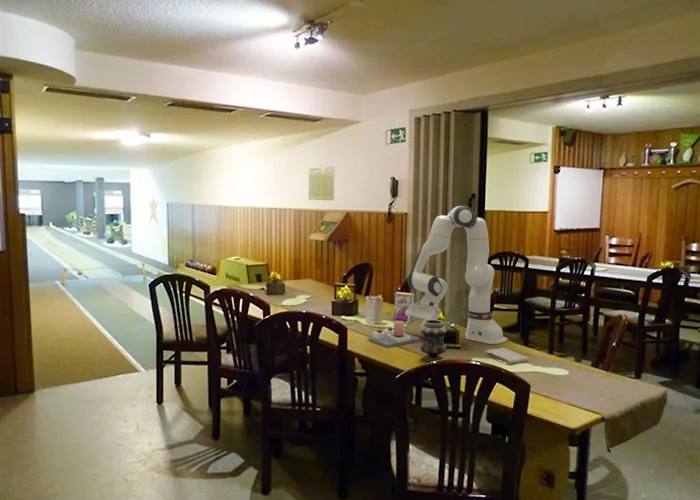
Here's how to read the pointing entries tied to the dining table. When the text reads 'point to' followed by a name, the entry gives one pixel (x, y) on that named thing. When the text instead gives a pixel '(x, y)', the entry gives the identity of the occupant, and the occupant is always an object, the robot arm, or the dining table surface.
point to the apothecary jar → (433, 340)
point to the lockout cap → (398, 329)
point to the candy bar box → (403, 305)
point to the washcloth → (506, 355)
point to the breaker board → (391, 338)
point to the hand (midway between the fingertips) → (413, 325)
